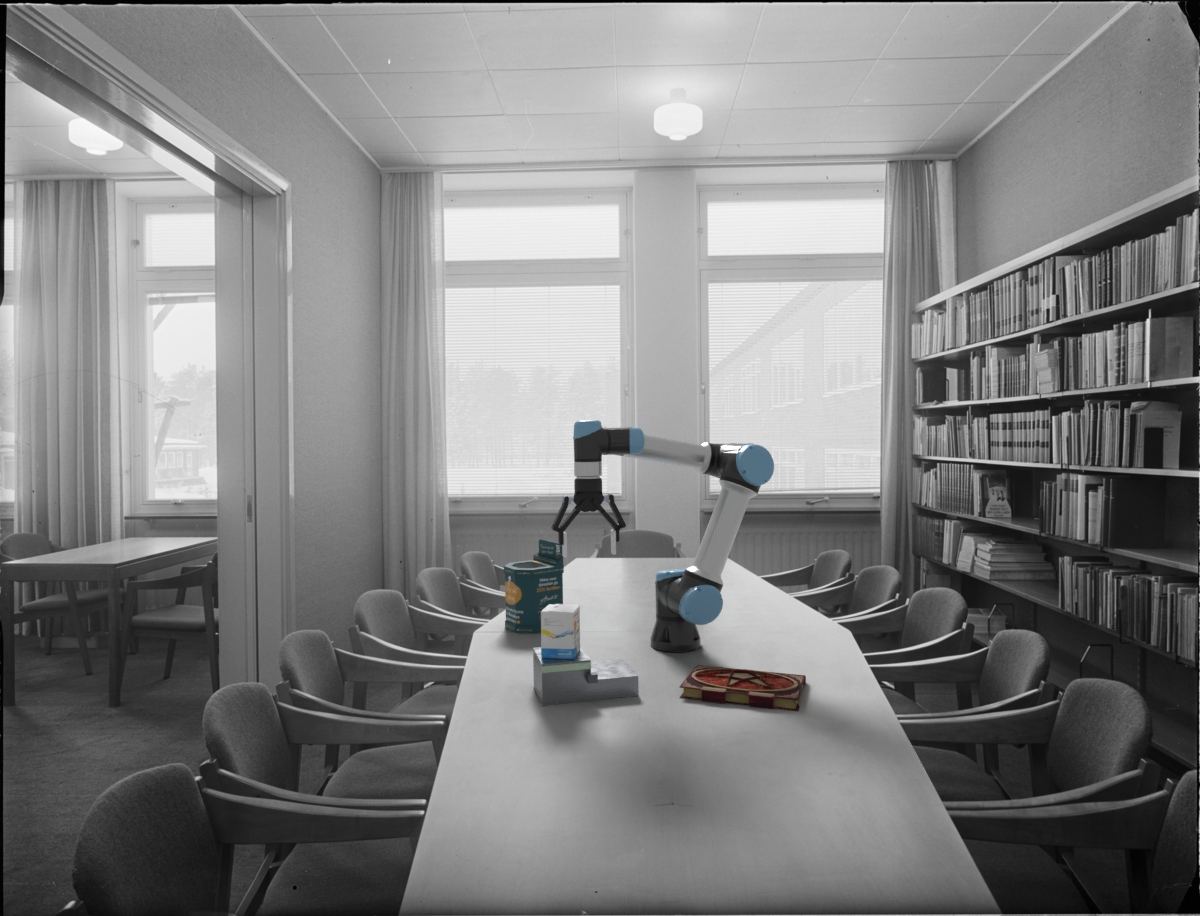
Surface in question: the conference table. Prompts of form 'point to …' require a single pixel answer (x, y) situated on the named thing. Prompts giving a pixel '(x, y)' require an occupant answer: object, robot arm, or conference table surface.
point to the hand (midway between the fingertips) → (589, 555)
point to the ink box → (560, 631)
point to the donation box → (533, 587)
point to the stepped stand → (581, 679)
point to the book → (744, 687)
